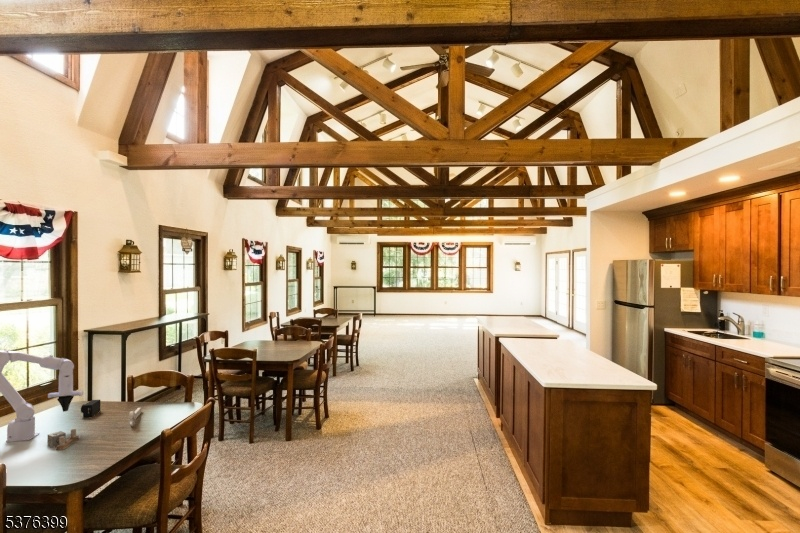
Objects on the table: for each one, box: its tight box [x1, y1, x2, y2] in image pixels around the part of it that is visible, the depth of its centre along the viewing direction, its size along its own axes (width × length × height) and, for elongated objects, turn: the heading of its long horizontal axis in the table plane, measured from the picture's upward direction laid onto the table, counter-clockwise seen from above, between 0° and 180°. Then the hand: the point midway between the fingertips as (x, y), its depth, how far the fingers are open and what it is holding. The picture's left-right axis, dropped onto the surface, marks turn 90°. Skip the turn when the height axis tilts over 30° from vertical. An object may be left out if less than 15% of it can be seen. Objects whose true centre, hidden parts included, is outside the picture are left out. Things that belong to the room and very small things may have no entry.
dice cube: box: [47, 430, 67, 448], centre depth 193 cm, size 5×5×5 cm
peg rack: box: [55, 428, 80, 451], centre depth 193 cm, size 3×12×5 cm, turn 12°
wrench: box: [128, 407, 142, 427], centre depth 224 cm, size 8×2×30 cm
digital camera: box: [80, 399, 101, 419], centre depth 233 cm, size 10×5×7 cm, turn 14°
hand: (65, 410), depth 211 cm, fingers closed
